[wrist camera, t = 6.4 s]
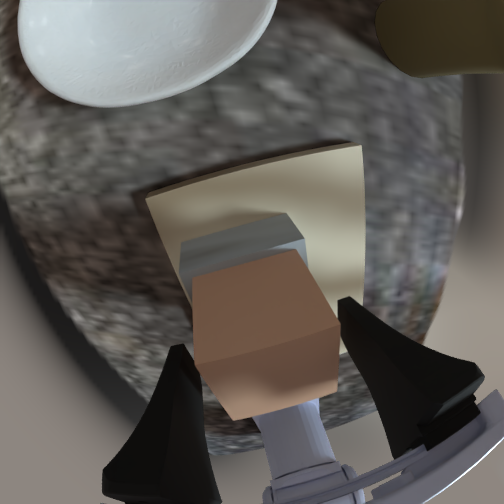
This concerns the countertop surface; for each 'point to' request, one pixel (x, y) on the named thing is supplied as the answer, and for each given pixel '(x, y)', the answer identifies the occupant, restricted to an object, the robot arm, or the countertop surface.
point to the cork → (442, 36)
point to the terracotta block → (264, 335)
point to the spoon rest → (135, 45)
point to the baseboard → (274, 192)
